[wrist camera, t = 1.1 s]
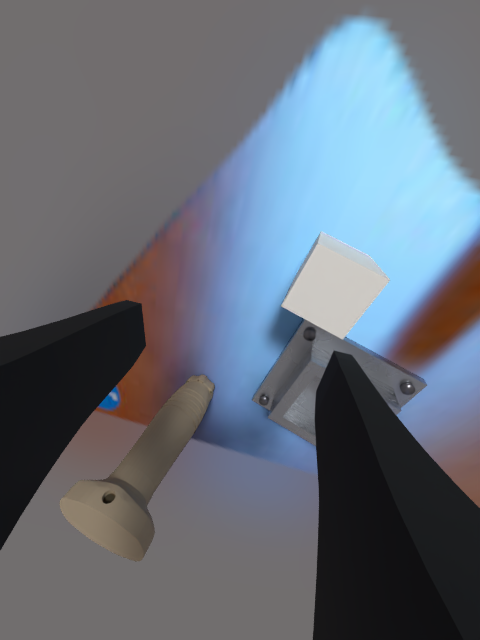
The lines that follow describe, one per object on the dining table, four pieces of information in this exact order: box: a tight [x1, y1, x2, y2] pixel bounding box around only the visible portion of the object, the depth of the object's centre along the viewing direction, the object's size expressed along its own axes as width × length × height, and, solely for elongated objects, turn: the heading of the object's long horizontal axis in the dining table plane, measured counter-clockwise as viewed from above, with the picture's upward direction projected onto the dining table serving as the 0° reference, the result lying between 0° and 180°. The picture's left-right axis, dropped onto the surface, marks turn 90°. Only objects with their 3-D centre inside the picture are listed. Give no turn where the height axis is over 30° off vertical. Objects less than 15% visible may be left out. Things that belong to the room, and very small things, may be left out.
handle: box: [60, 375, 215, 561], centre depth 22 cm, size 5×6×15 cm
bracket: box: [252, 319, 427, 446], centre depth 22 cm, size 11×11×4 cm
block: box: [281, 231, 390, 340], centre depth 16 cm, size 4×4×7 cm
